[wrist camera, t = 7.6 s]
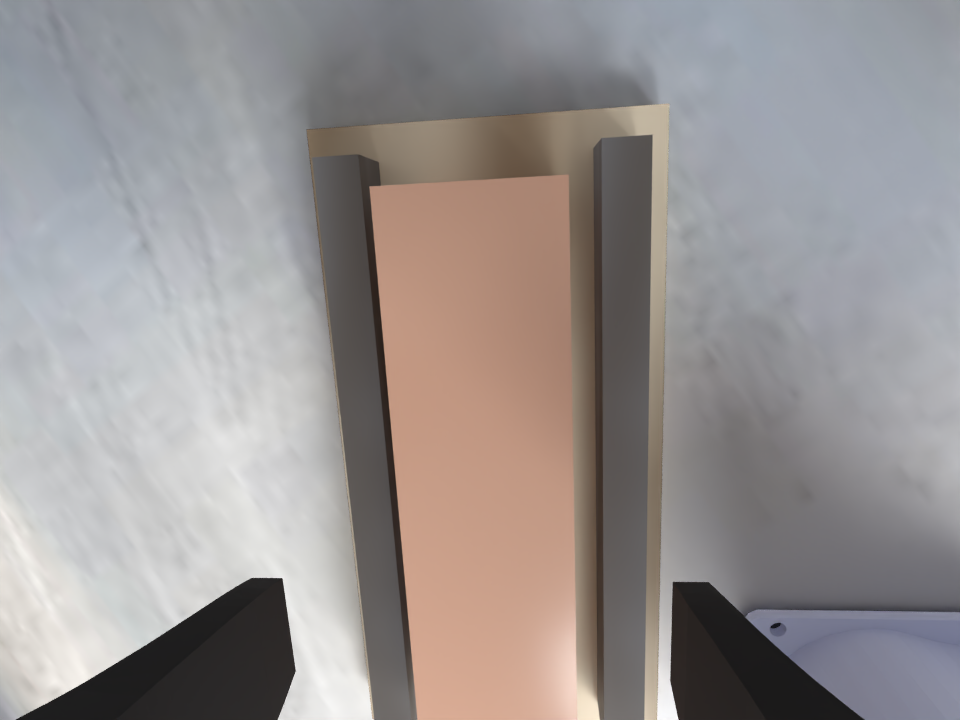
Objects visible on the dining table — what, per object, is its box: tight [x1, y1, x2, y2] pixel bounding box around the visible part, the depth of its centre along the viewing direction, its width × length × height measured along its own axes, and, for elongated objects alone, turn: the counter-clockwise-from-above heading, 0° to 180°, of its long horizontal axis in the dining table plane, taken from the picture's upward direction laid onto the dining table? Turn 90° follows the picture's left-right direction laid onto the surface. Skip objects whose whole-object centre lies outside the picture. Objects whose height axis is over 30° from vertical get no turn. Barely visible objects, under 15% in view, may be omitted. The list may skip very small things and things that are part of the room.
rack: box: [307, 104, 669, 720], centre depth 18 cm, size 10×20×3 cm, turn 3°
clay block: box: [369, 175, 577, 720], centre depth 16 cm, size 4×16×5 cm, turn 3°
